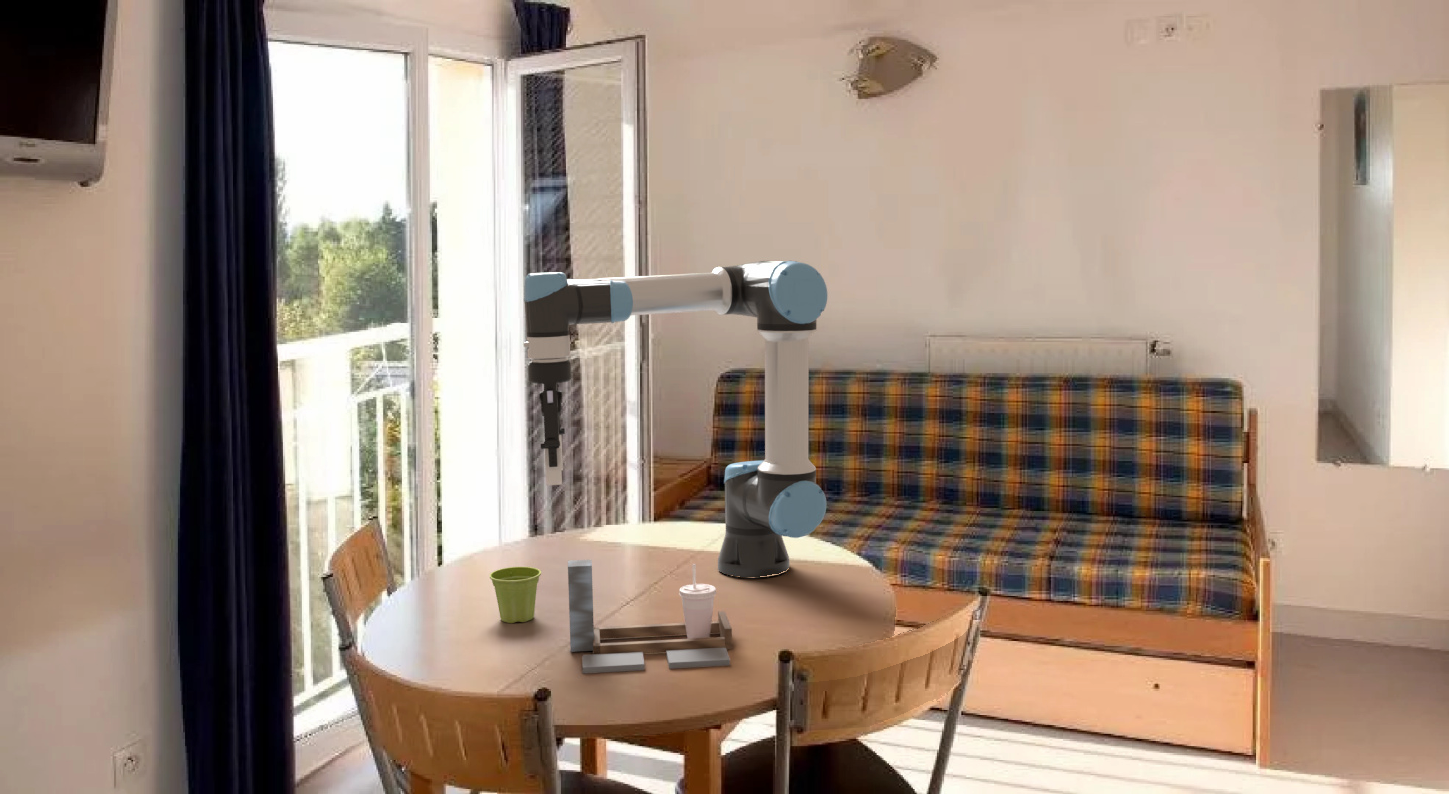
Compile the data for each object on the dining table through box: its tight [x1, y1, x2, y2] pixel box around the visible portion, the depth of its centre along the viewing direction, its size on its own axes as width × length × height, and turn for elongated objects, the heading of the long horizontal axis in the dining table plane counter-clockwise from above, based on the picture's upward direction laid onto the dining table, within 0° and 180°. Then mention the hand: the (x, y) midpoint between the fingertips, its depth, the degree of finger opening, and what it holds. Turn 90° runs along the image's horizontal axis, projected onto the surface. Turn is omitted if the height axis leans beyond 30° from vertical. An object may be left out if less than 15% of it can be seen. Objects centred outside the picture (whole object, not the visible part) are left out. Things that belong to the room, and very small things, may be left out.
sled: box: [567, 559, 733, 655], centre depth 210 cm, size 27×10×15 cm, turn 97°
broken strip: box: [581, 647, 731, 674], centre depth 202 cm, size 24×6×1 cm, turn 97°
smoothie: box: [678, 563, 717, 639], centre depth 211 cm, size 6×6×14 cm
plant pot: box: [488, 566, 542, 624], centre depth 226 cm, size 9×9×9 cm
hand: (555, 477), depth 220 cm, fingers open, 13 cm apart
